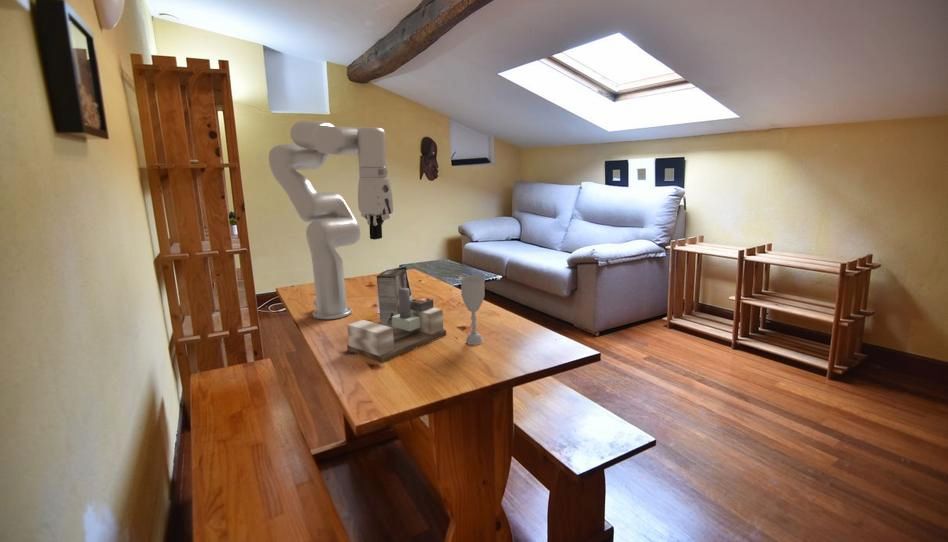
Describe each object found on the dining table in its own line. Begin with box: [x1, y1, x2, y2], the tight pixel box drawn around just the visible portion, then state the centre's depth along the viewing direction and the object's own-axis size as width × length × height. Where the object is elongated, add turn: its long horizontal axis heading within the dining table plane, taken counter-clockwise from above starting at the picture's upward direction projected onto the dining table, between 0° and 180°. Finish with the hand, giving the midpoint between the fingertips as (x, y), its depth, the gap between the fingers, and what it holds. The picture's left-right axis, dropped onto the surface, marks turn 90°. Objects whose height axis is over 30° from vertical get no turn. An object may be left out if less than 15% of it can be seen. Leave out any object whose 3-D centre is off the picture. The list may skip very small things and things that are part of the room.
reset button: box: [414, 297, 427, 303], centre depth 141 cm, size 3×3×2 cm
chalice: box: [458, 274, 487, 346], centre depth 133 cm, size 7×7×18 cm
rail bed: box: [346, 296, 447, 363], centre depth 135 cm, size 14×24×10 cm, turn 141°
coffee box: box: [376, 269, 408, 328], centre depth 151 cm, size 9×6×16 cm
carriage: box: [391, 287, 420, 331], centre depth 136 cm, size 7×4×11 cm, turn 51°
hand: (376, 238), depth 140 cm, fingers closed
